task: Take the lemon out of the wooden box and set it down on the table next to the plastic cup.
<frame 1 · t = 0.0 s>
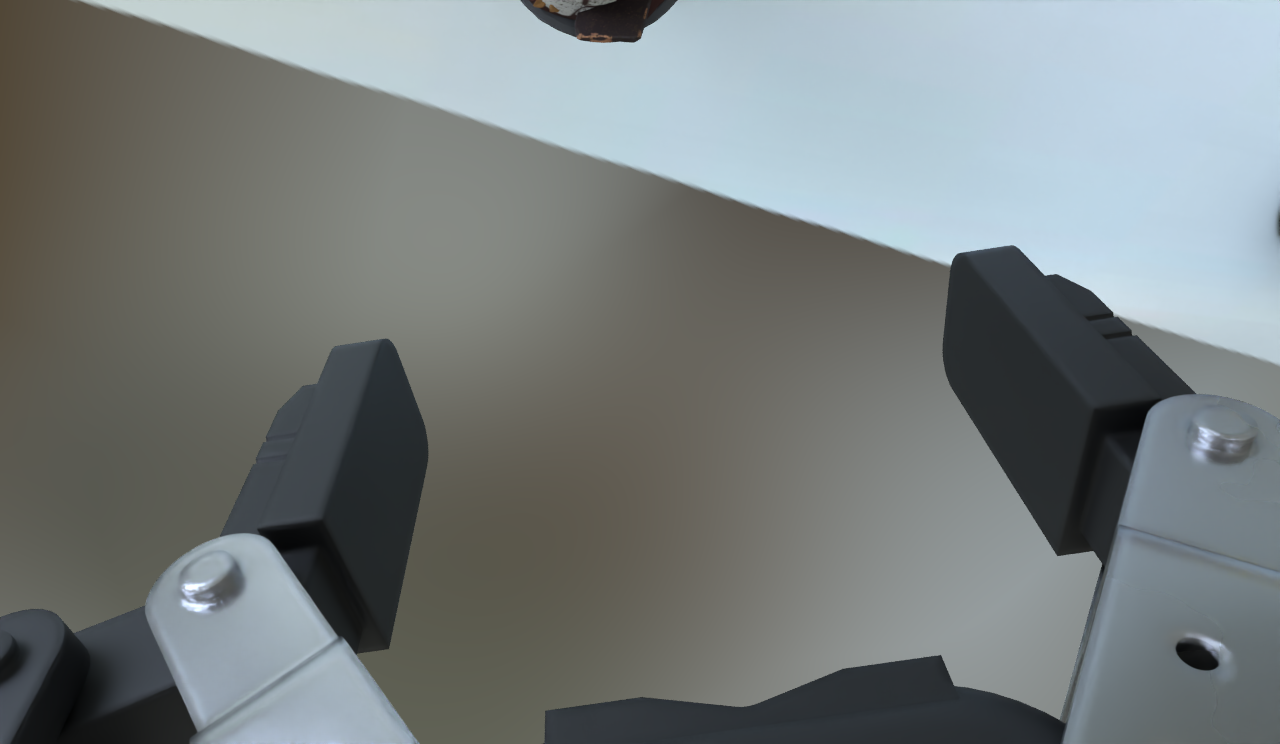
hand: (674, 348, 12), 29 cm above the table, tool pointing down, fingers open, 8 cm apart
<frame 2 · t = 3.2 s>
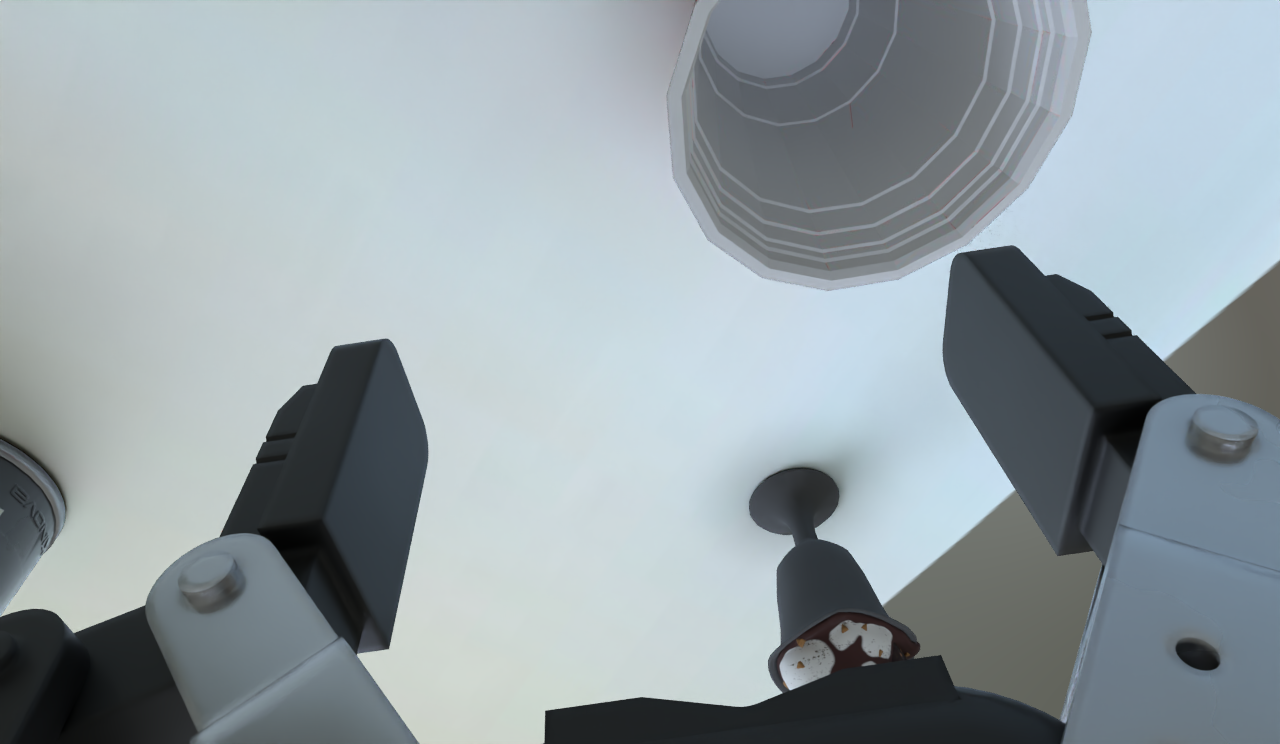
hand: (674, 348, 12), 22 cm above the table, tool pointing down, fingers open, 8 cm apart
sundae: (792, 499, 45), on the table
plastic cup: (779, 3, 30), on the table
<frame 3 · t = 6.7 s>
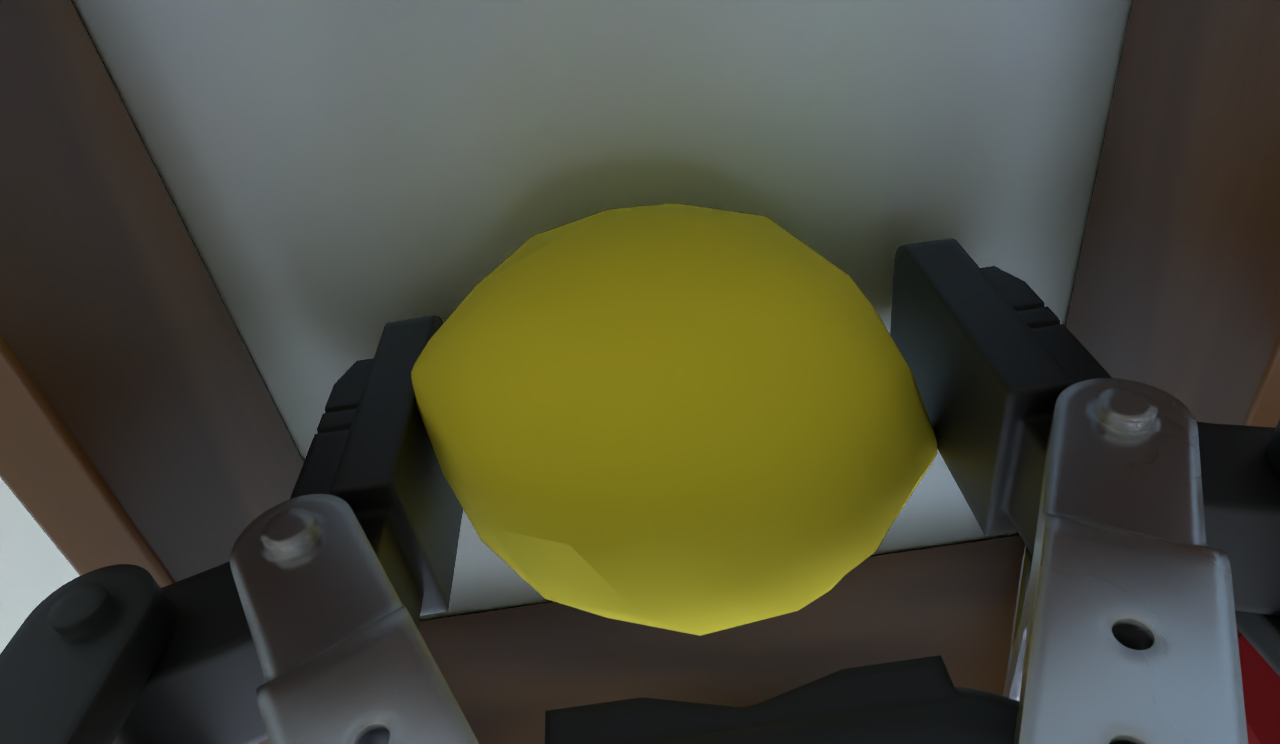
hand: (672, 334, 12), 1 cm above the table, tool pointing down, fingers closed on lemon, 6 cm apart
lemon: (664, 301, 13), resting in wooden box, touching gripper
wooden box: (665, 308, 13), on the table
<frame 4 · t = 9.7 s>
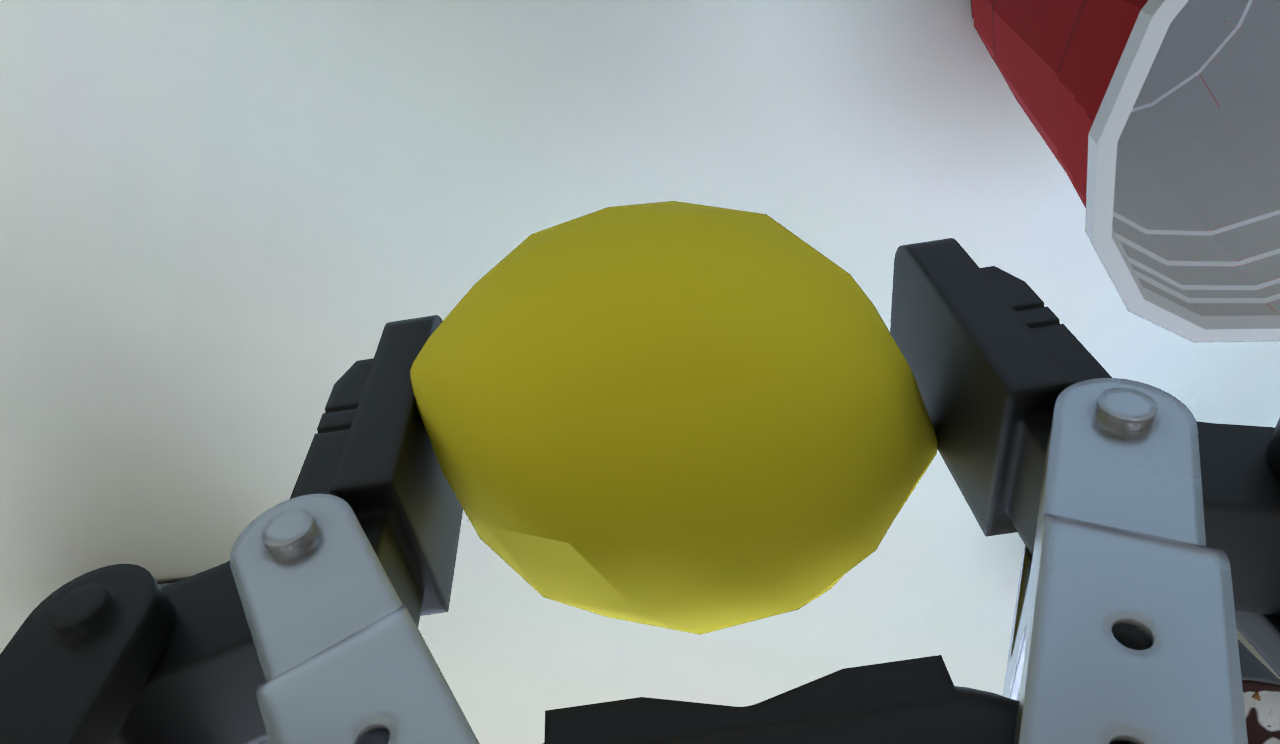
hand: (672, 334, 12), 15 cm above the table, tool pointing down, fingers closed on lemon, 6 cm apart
lemon: (664, 300, 13), point 14 cm above the table, touching gripper
sundae: (1084, 526, 39), on the table
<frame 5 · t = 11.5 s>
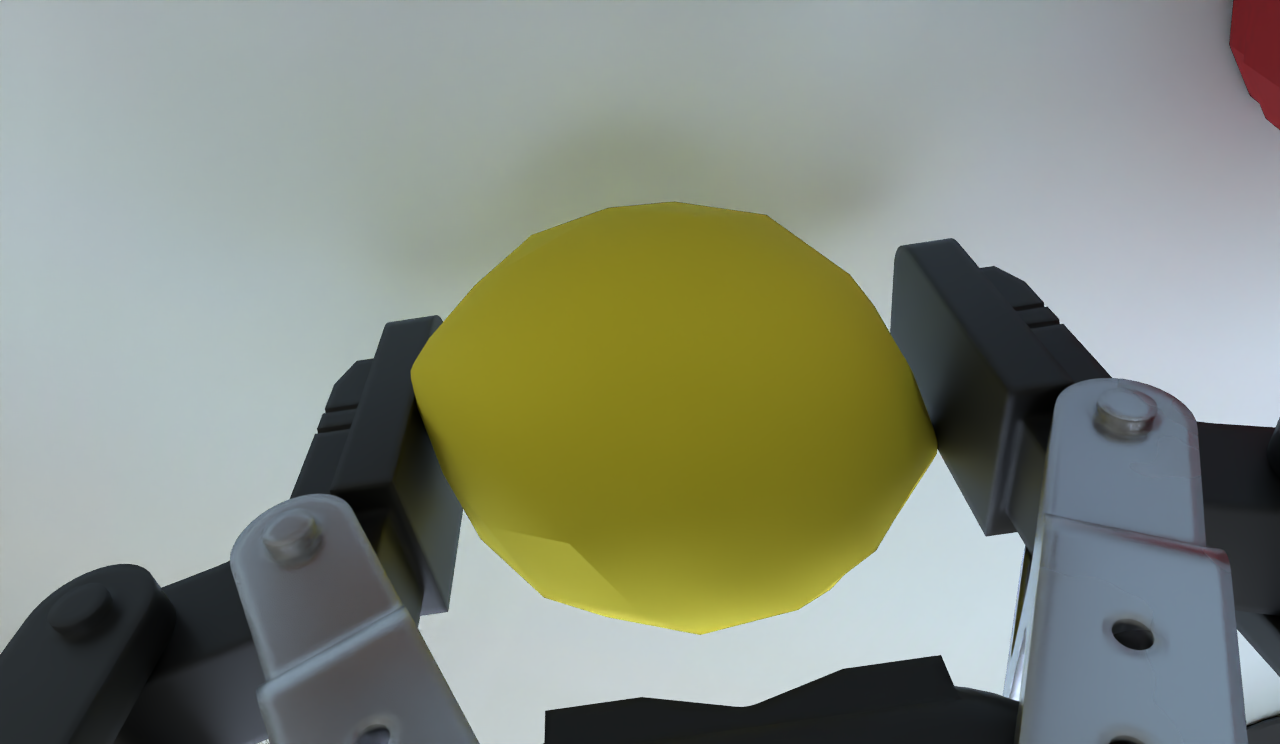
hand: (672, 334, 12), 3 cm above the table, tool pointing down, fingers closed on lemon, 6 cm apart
lemon: (664, 300, 13), point 2 cm above the table, touching gripper
when the fingers open (1 cm above the table, at t = 12.9 s): lemon stays where it is, on the table.
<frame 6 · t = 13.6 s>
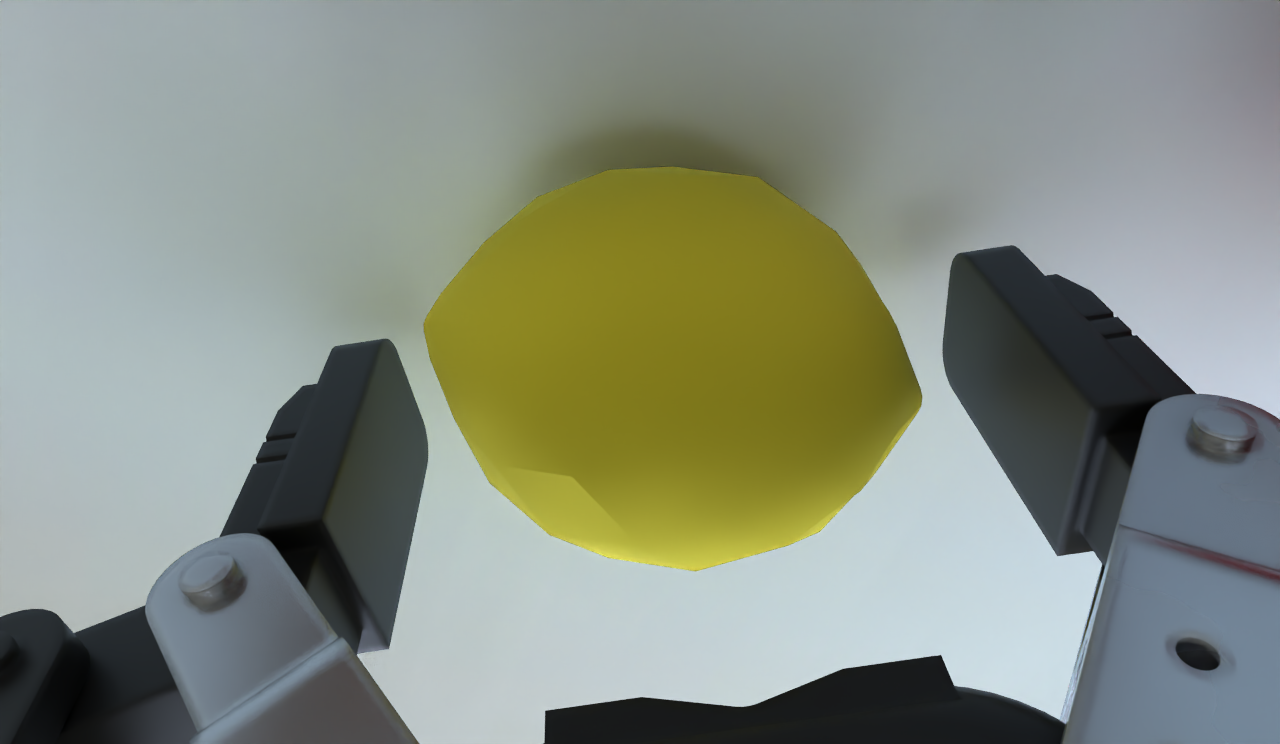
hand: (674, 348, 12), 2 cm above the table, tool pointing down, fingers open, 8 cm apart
lemon: (663, 266, 14), on the table
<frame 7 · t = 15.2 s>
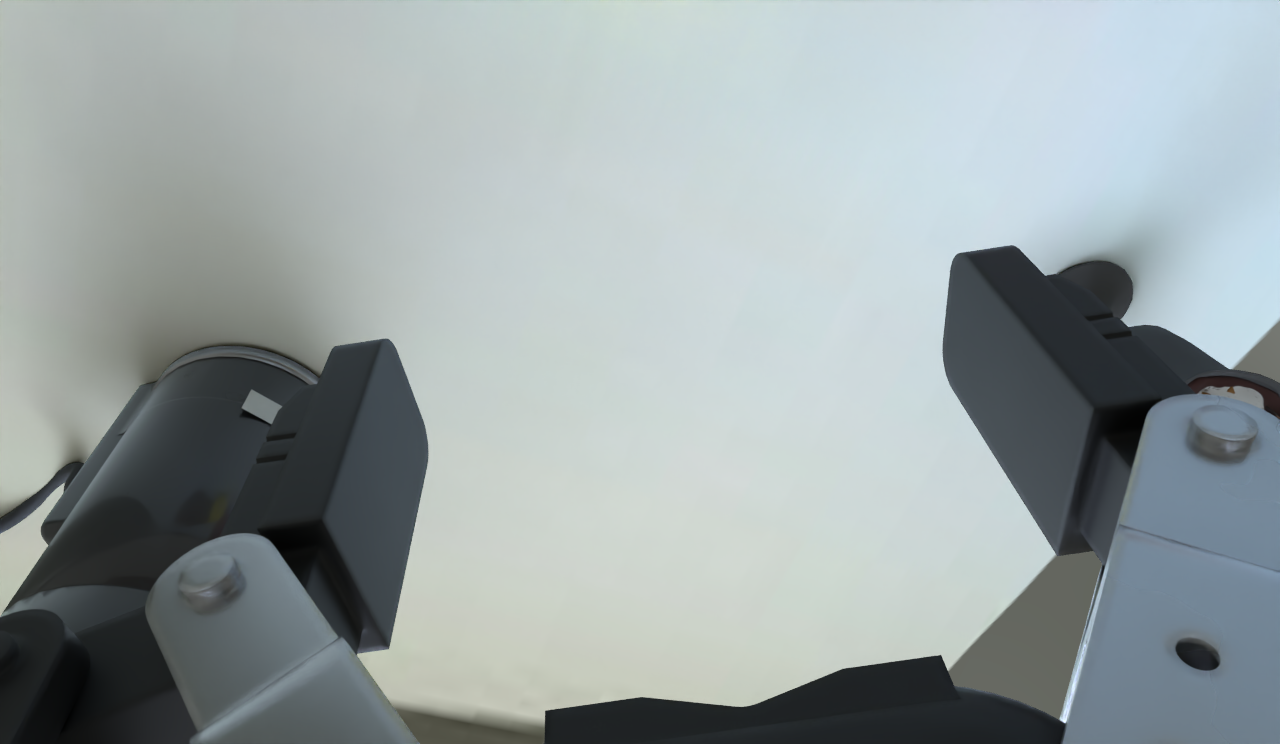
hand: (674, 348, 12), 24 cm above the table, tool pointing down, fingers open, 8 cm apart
sundae: (1077, 303, 41), on the table
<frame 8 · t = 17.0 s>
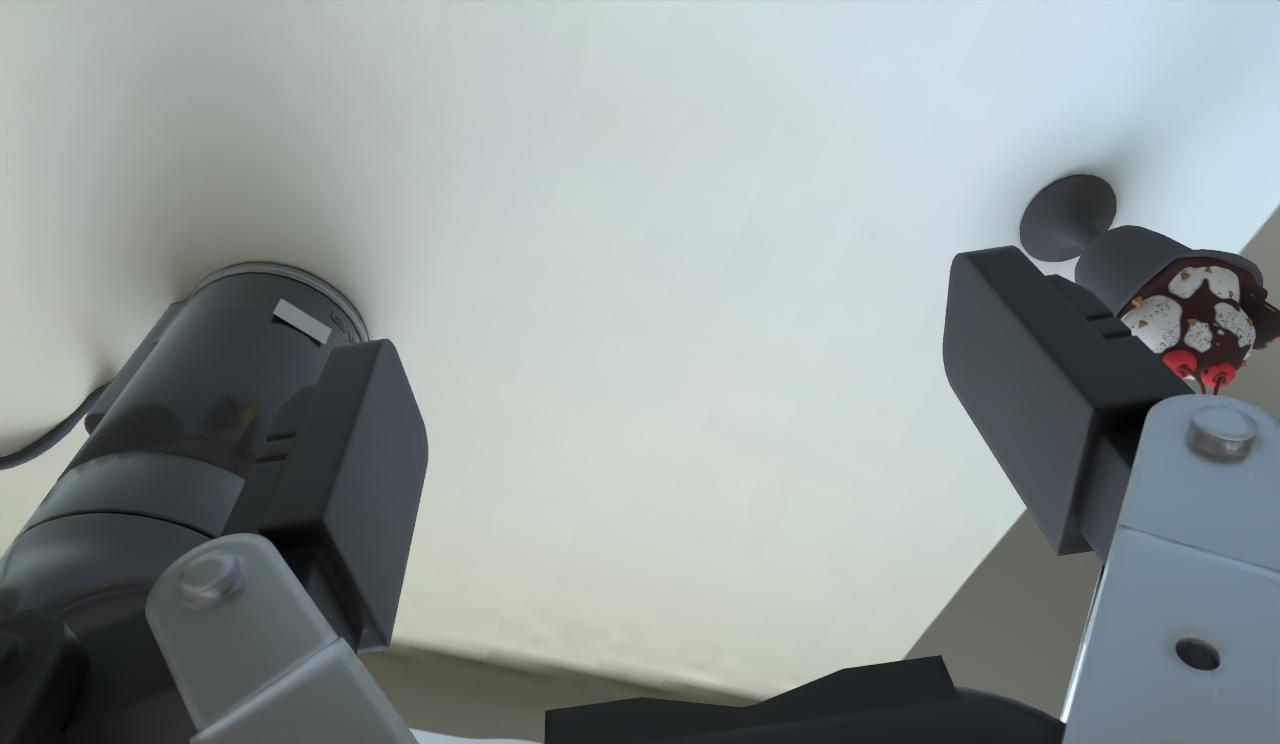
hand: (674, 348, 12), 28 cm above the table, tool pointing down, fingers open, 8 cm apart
sundae: (1064, 218, 43), on the table
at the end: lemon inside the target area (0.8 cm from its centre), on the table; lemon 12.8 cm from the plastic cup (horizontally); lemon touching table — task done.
